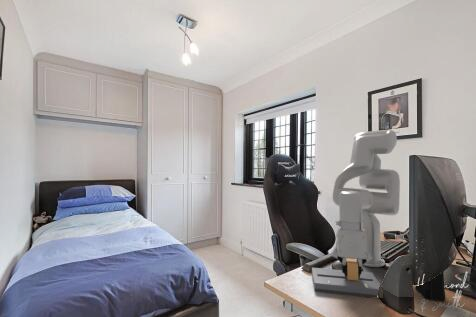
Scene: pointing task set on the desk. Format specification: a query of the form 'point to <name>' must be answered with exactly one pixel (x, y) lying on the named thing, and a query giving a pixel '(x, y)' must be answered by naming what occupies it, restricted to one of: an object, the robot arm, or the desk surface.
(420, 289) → the portable radio
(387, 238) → the desk surface
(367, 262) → the robot arm
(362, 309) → the desk surface
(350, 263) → the fader tab
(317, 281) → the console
